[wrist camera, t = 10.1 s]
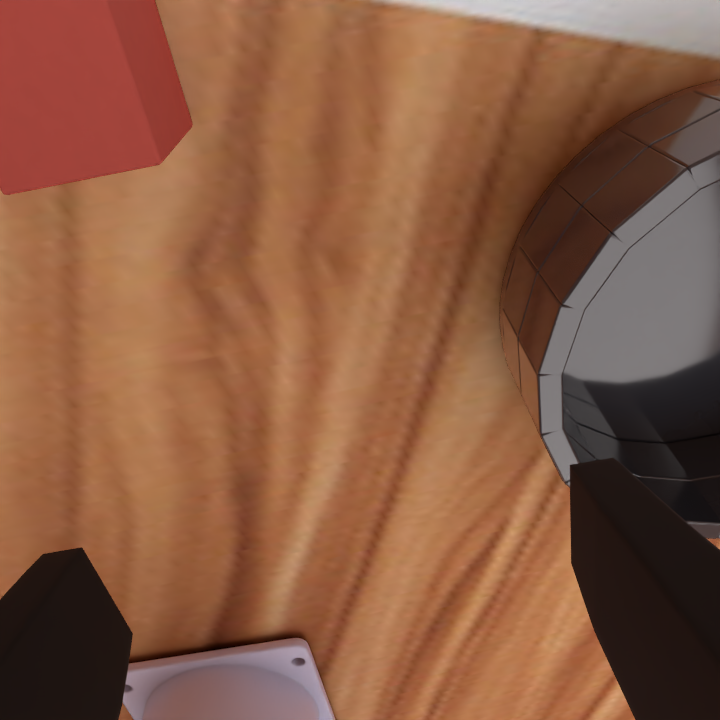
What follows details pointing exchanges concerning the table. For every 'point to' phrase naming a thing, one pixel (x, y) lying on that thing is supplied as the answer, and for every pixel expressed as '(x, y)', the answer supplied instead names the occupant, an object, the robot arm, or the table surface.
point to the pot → (628, 305)
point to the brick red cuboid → (84, 91)
